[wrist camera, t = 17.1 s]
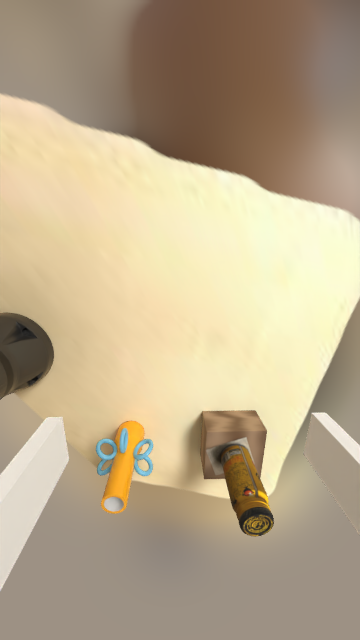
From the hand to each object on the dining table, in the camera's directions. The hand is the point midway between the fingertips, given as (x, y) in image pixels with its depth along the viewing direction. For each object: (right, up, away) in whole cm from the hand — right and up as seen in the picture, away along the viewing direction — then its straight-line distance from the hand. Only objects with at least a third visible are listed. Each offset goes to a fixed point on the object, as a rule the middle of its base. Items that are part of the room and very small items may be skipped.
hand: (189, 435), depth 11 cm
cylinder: (-11, -19, +37) cm, 43 cm away
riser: (+11, -20, +38) cm, 44 cm away
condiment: (+10, -22, +32) cm, 40 cm away
